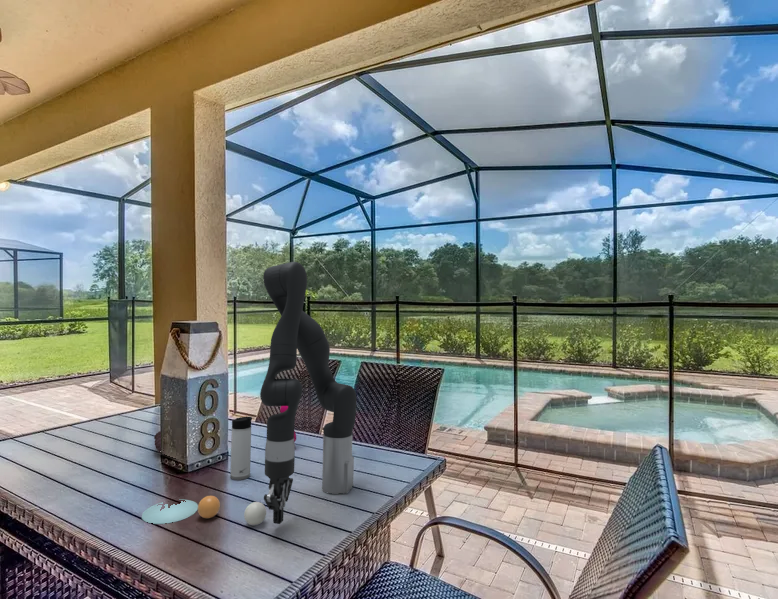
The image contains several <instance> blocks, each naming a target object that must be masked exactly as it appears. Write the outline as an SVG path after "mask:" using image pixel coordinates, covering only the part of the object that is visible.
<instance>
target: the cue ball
mask: <svg viewBox="0 0 778 599" xmlns="http://www.w3.org/2000/svg"><path fill="white" fill-rule="evenodd" d="M243 514H244V515H243V517H244V520H245V522H246V523H247V524H248V525H250V526H258V525H260V524H261V523H263V522H264V521H265V519H266V516H267V508H266V506H265V505H264V503H262V502H259V501H254V502H251V503H250V504H248V505H247V507H246V508H245V509H244V513H243Z"/></svg>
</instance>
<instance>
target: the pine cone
mask: <svg viewBox="0 0 778 599" xmlns="http://www.w3.org/2000/svg"><path fill="white" fill-rule="evenodd" d="M161 431H162V430H160V431H158V432H156V433H155V435H154V436H153V439H154V447H155V449H156V451H157V452H158V453H160V451H161ZM160 454H161V453H160Z"/></svg>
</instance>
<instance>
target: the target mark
mask: <svg viewBox="0 0 778 599" xmlns="http://www.w3.org/2000/svg"><path fill="white" fill-rule="evenodd" d="M184 500H185V501H186V502H185V501H184V502H183V501H181V503H180V504H177V505H175V504H173V505H171V506H170V508H168V504H165V505H164V506H165V508H164V509H162V510H161V511H160V509H161V507H162V505H158V504H163V502H164V501H162V502H158V503H156V504H154V505H151V506H149V507H147V509H145V510H144V511H143V512H142V513H141V520H142V521H143V522H145V523H147V522H148V524H151V523H153V525H166V524H165V523H167V524H173V523H177V522H180V521H182V520H185V519H187V518H189V517H192V516H193V515H194V514H196V512H198V503H197V502H196V501H193V500H190V499H184ZM157 505H158V506H157ZM172 522H173V523H172Z"/></svg>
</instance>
